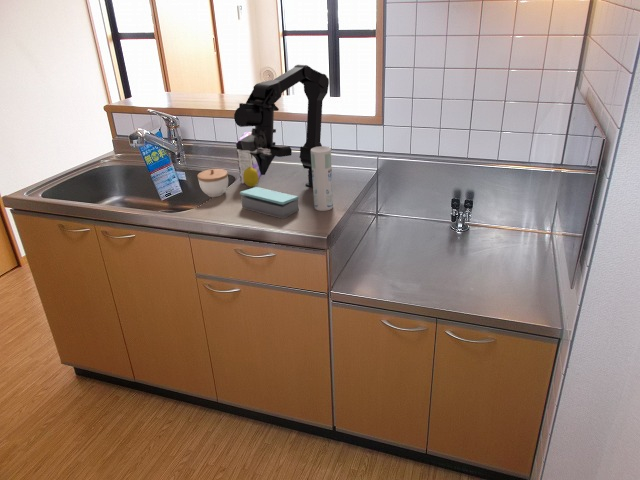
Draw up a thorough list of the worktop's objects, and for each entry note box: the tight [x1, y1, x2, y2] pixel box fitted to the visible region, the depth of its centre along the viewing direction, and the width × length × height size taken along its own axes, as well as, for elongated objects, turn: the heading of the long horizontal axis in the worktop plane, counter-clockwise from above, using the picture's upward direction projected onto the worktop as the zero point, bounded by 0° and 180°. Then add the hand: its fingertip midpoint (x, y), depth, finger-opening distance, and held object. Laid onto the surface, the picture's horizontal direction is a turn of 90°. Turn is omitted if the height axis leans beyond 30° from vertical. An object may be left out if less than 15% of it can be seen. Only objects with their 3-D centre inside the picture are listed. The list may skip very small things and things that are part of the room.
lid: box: [239, 186, 299, 205], centre depth 171 cm, size 8×18×1 cm, turn 55°
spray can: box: [311, 145, 334, 212], centre depth 167 cm, size 6×6×20 cm
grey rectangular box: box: [240, 195, 299, 220], centre depth 172 cm, size 8×18×4 cm, turn 55°
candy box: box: [235, 131, 262, 184], centre depth 198 cm, size 14×6×16 cm, turn 172°
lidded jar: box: [197, 168, 229, 198], centre depth 186 cm, size 11×11×9 cm
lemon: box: [243, 167, 260, 189], centre depth 190 cm, size 6×6×8 cm
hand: (262, 174), depth 166 cm, fingers closed
